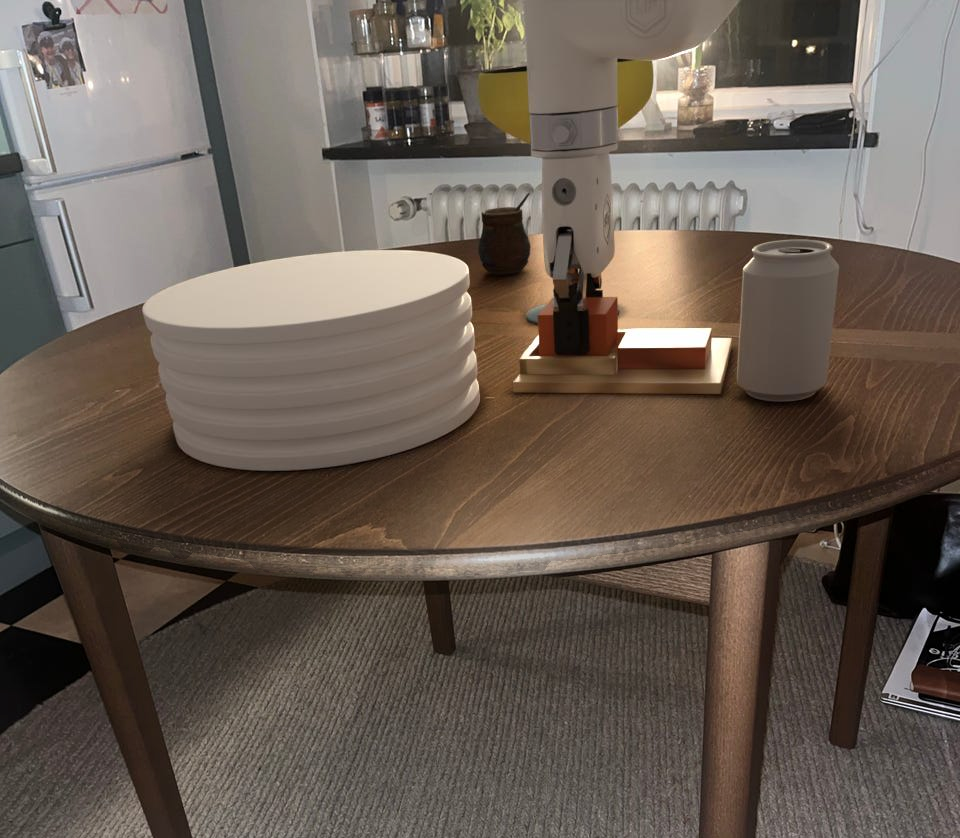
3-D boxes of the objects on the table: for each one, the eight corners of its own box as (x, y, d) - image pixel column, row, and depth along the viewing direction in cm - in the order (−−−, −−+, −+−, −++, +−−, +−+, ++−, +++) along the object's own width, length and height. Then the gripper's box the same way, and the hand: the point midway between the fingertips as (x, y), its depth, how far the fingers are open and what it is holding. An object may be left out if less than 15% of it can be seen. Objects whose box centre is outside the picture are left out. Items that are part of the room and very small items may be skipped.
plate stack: (542, 395, 89) (536, 263, 83) (291, 499, 73) (260, 347, 67) (355, 352, 107) (338, 241, 101) (121, 428, 91) (84, 303, 85)
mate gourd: (480, 268, 139) (474, 192, 133) (533, 264, 138) (529, 187, 133) (478, 279, 132) (472, 200, 127) (534, 275, 132) (530, 195, 127)
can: (837, 381, 85) (853, 236, 79) (809, 409, 80) (824, 256, 74) (754, 373, 89) (763, 234, 83) (722, 399, 84) (729, 253, 78)
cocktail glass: (679, 300, 114) (685, 52, 101) (599, 341, 102) (594, 66, 89) (550, 290, 124) (540, 63, 110) (464, 327, 112) (441, 77, 99)
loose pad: (617, 338, 95) (617, 296, 93) (606, 358, 90) (606, 314, 88) (554, 339, 97) (552, 297, 95) (539, 358, 92) (537, 314, 90)
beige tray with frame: (731, 347, 96) (733, 317, 95) (720, 394, 85) (722, 360, 84) (546, 348, 102) (545, 319, 100) (513, 392, 90) (511, 360, 89)
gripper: (598, 143, 76) (602, 371, 85) (632, 120, 90) (632, 318, 99) (506, 149, 78) (519, 370, 87) (553, 126, 92) (560, 319, 101)
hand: (579, 341), depth 93 cm, fingers closed on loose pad, 6 cm apart
